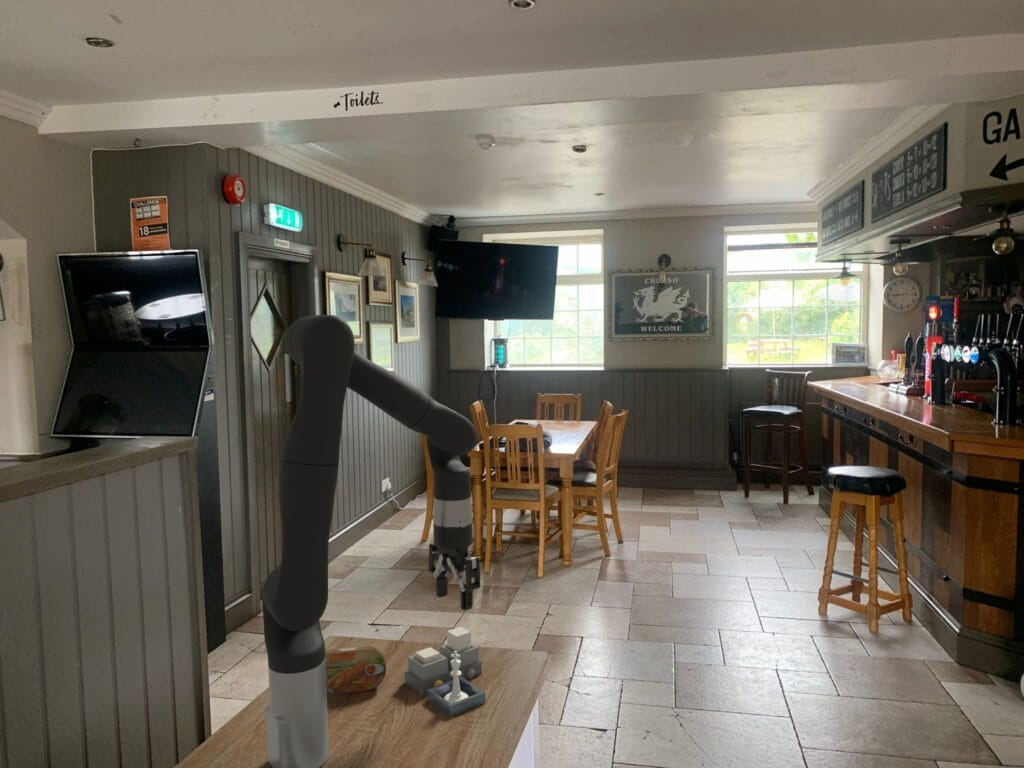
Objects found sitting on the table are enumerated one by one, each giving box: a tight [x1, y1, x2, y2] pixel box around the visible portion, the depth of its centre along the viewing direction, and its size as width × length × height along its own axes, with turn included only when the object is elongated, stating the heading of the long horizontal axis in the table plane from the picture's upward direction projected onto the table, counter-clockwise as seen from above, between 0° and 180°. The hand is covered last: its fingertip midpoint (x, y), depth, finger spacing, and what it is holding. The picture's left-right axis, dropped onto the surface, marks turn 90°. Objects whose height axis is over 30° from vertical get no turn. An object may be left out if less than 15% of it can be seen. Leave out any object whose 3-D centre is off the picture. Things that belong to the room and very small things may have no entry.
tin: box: [325, 645, 387, 695], centre depth 144 cm, size 15×3×8 cm, turn 99°
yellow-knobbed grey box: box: [403, 642, 483, 697], centre depth 148 cm, size 14×8×6 cm, turn 128°
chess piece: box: [443, 651, 469, 704], centre depth 138 cm, size 5×5×10 cm
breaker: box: [446, 626, 472, 652], centre depth 150 cm, size 4×4×3 cm
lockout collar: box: [426, 677, 487, 718], centre depth 139 cm, size 8×8×2 cm
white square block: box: [414, 646, 440, 664], centre depth 146 cm, size 4×4×3 cm
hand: (454, 602), depth 137 cm, fingers open, 8 cm apart
